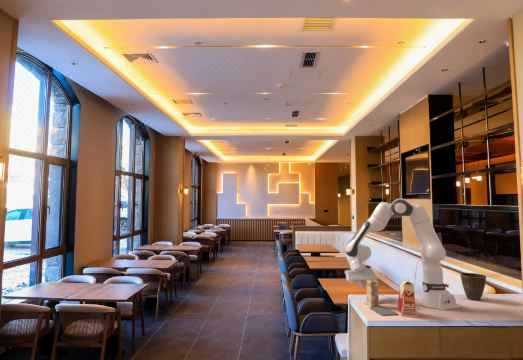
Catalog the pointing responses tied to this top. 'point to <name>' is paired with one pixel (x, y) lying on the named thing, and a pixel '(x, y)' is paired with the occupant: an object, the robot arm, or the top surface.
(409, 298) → the red figurine
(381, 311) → the mat
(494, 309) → the top surface
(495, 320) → the top surface
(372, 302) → the block
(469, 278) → the plant pot
